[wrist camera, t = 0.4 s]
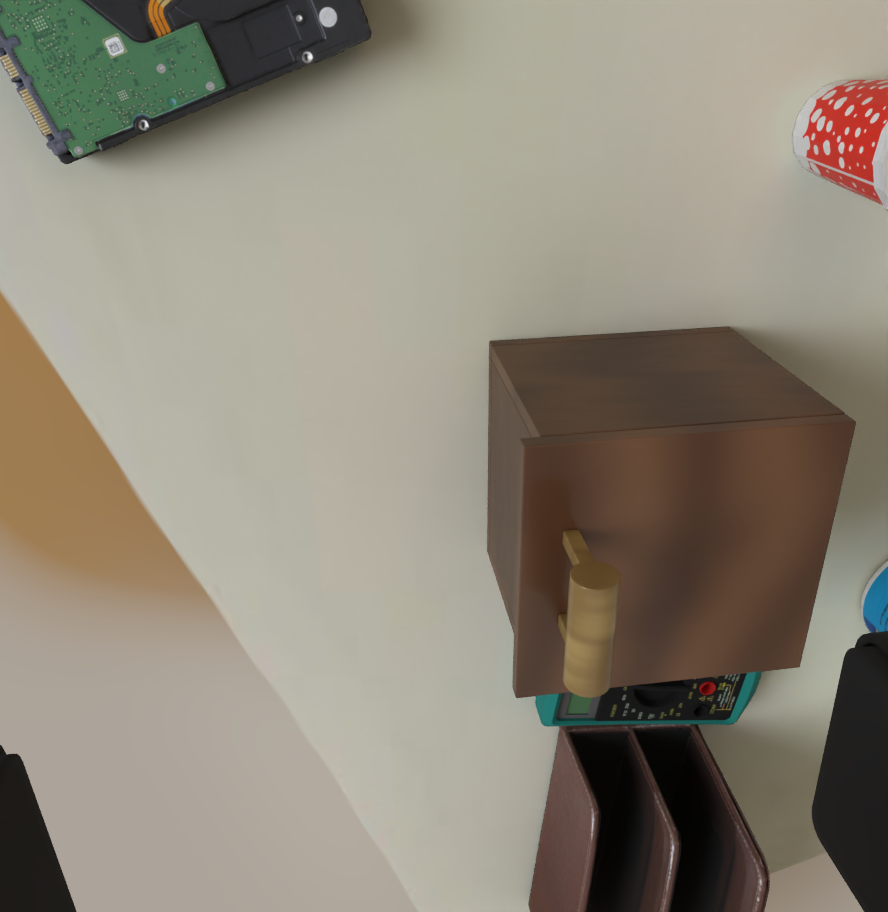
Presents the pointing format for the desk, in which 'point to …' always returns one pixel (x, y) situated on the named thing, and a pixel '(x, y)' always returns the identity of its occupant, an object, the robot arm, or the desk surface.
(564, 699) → the digital multimeter
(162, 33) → the disk drive
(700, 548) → the lid
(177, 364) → the desk surface
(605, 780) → the letter holder
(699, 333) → the bin
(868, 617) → the beverage bottle
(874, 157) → the beverage cup
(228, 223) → the desk surface
